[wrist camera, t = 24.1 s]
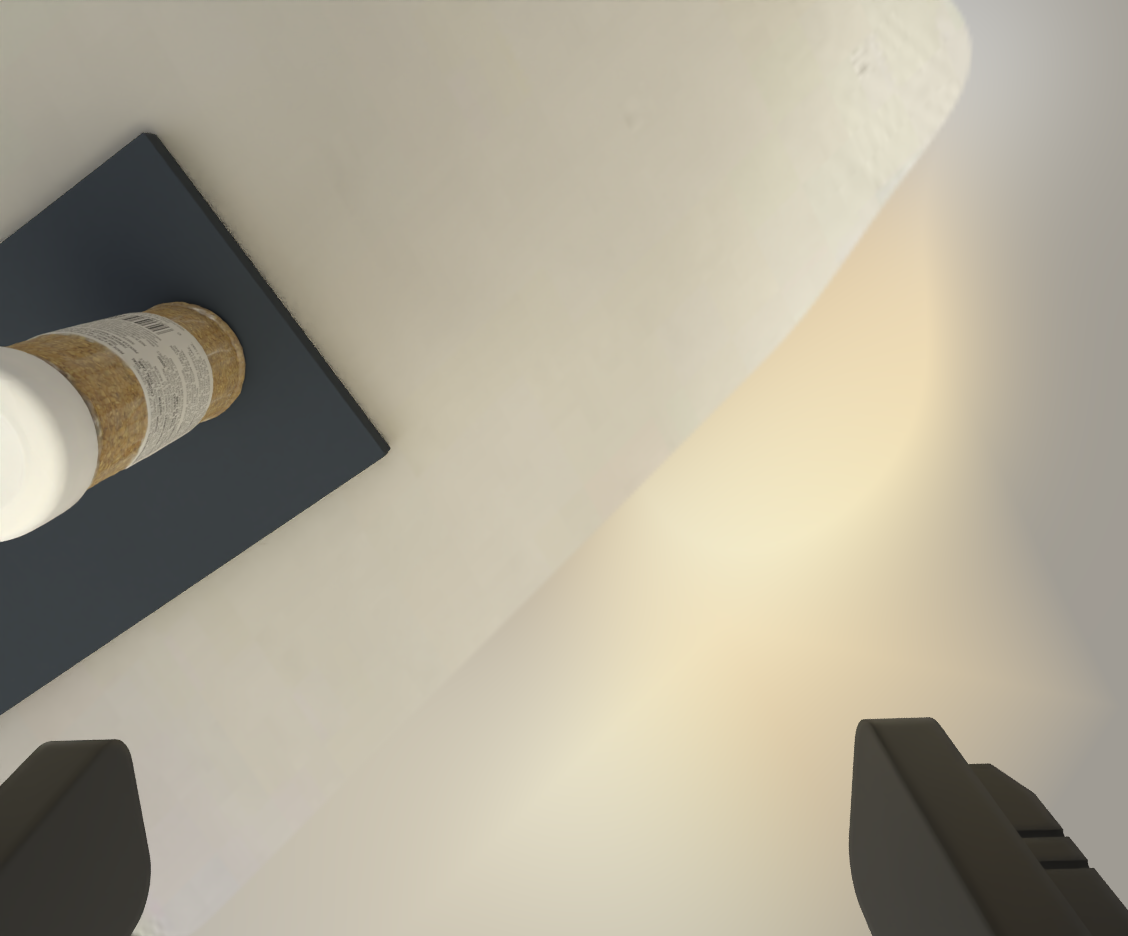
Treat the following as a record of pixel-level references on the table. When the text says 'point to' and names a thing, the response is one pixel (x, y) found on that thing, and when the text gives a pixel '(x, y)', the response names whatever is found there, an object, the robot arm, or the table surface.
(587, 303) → the table surface
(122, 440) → the sprinkles bottle
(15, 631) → the mat
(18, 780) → the robot arm
